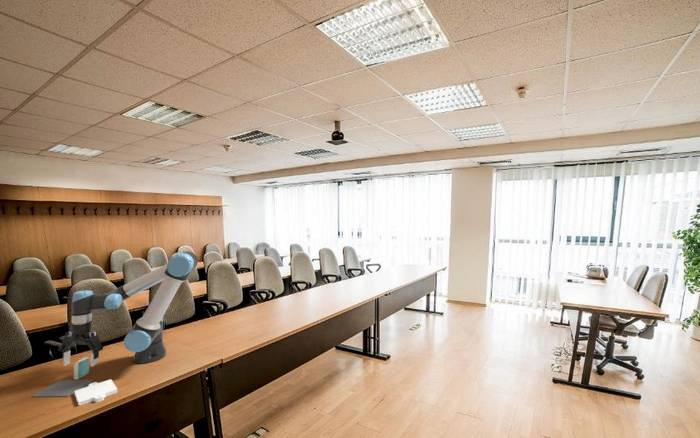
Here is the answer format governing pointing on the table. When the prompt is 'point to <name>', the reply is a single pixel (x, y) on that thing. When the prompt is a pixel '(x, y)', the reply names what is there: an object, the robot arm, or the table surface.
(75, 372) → the tile
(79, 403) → the mounting plate
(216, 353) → the table surface
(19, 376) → the table surface
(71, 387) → the mat
